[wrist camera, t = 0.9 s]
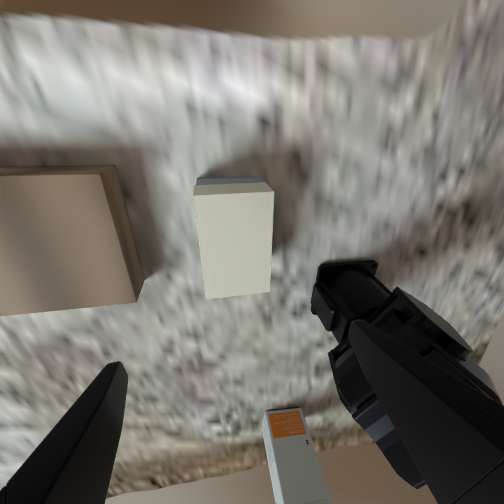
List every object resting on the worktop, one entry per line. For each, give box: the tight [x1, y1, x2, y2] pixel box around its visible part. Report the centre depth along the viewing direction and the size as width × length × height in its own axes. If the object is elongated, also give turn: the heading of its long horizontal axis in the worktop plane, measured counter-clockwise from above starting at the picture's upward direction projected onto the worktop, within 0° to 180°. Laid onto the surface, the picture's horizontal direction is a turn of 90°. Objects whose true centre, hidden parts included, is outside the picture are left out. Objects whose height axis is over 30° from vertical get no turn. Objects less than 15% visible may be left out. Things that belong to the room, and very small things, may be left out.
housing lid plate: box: [193, 182, 274, 299], centre depth 18 cm, size 5×8×2 cm, turn 0°
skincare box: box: [262, 407, 333, 504], centre depth 33 cm, size 6×4×12 cm
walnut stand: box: [0, 165, 144, 316], centre depth 17 cm, size 10×10×3 cm
